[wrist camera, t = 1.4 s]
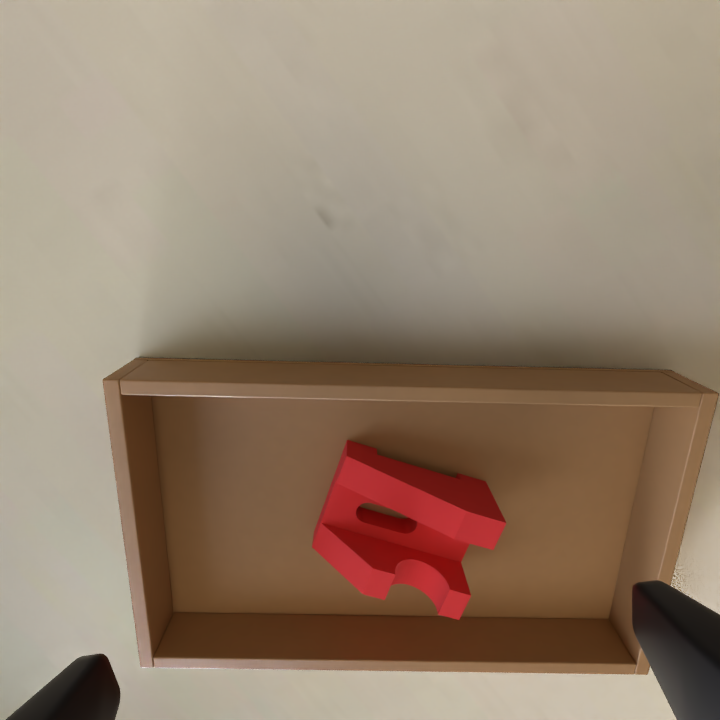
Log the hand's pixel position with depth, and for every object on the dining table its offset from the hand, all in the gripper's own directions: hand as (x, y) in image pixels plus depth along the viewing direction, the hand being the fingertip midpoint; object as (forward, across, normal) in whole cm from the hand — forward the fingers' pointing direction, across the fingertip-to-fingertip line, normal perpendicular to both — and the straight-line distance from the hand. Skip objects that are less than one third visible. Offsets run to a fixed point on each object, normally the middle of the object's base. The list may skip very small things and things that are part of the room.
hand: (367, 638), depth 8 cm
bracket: (+12, -1, +6) cm, 14 cm away
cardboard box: (+13, -1, +6) cm, 14 cm away
